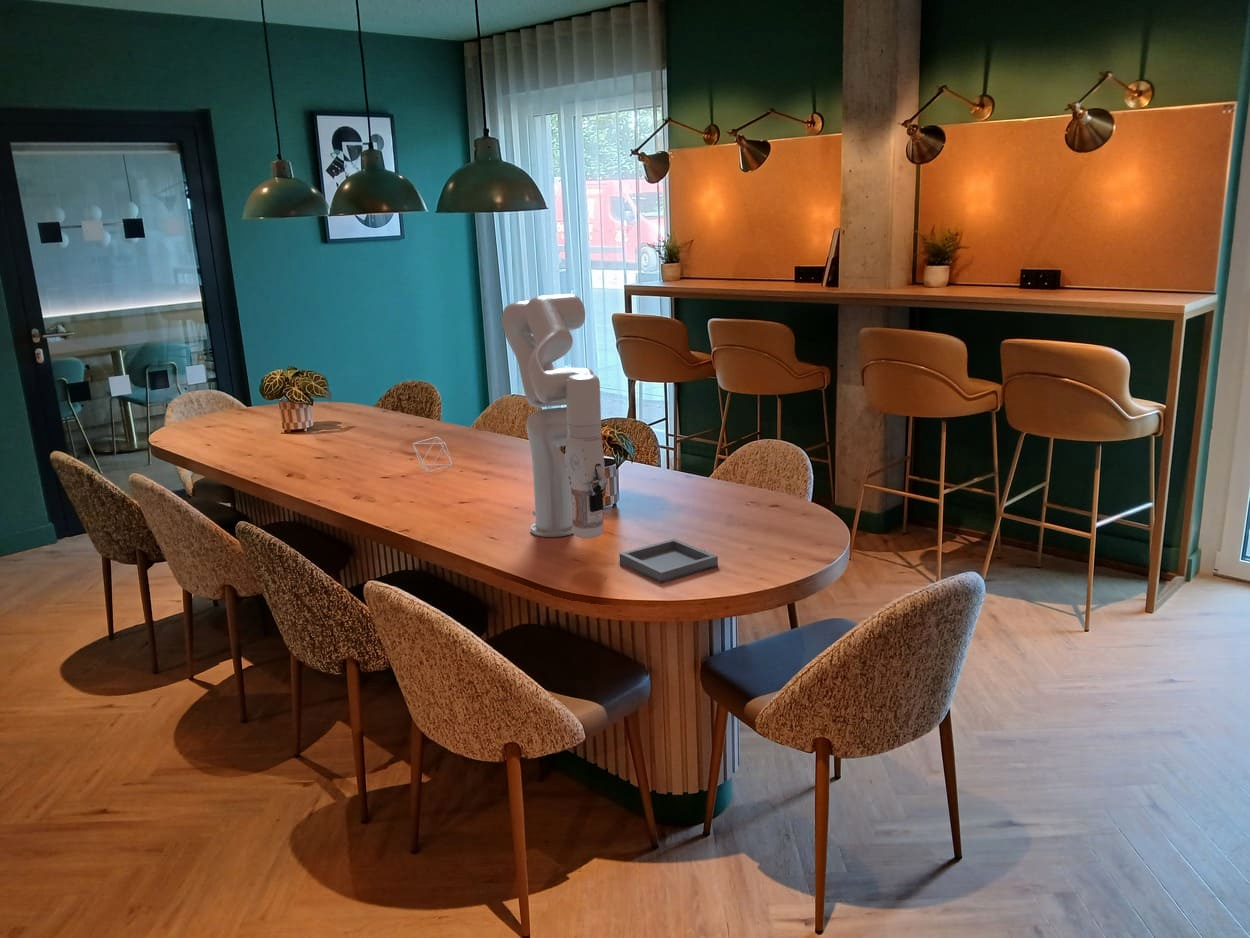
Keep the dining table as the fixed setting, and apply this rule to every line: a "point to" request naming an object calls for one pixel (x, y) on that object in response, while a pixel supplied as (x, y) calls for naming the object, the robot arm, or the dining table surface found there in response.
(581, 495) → the bath foam
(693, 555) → the blue-gray tray
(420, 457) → the geometric polyhedron
